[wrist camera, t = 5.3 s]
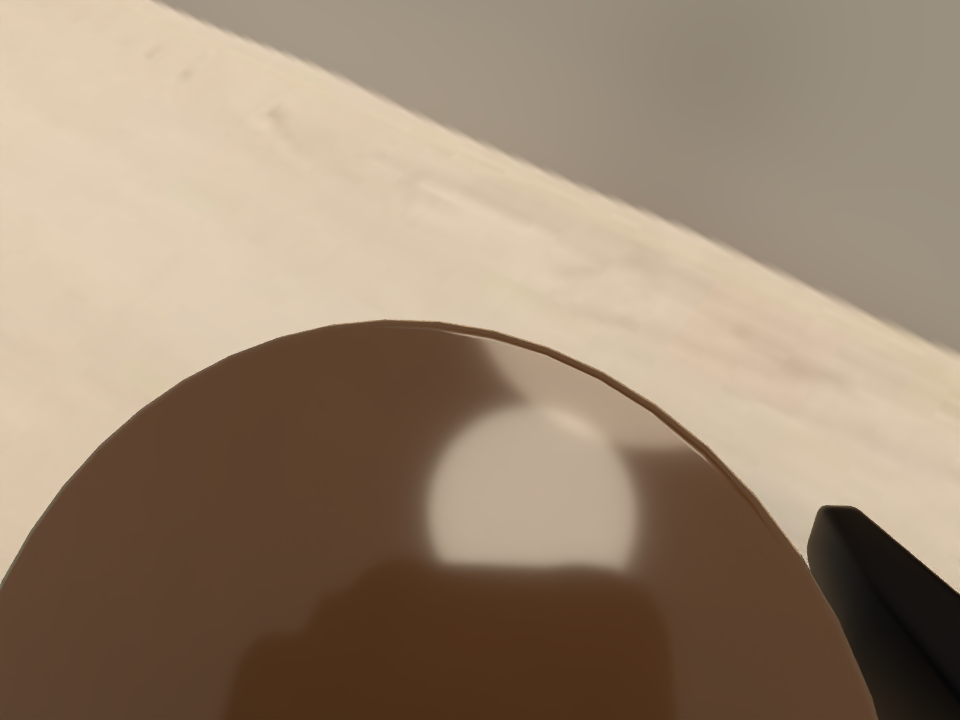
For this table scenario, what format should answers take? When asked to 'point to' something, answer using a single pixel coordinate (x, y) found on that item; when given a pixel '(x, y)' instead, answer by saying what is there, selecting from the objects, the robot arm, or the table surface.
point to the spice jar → (414, 552)
